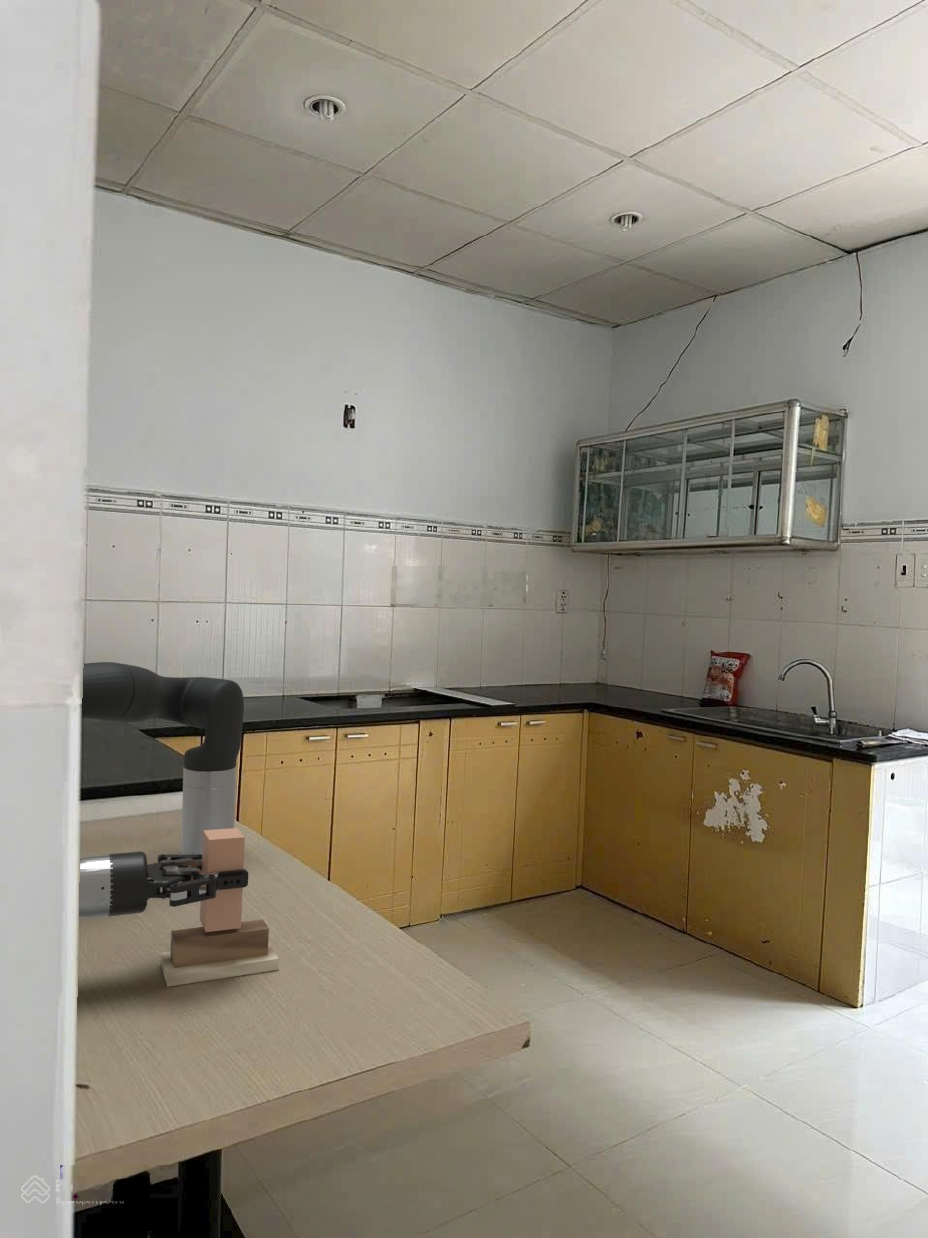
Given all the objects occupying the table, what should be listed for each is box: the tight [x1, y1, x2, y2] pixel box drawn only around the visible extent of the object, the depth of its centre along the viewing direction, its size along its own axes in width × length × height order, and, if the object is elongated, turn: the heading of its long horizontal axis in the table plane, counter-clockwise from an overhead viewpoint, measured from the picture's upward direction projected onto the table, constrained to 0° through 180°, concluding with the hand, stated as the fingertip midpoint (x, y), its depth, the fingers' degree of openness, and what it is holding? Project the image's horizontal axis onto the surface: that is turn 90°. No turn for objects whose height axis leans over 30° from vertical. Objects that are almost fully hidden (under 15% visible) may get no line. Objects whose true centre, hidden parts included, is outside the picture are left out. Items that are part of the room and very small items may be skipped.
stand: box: [160, 918, 280, 987], centre depth 117 cm, size 7×14×5 cm, turn 116°
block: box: [199, 827, 246, 932], centre depth 116 cm, size 4×4×12 cm
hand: (243, 872), depth 117 cm, fingers closed on block, 4 cm apart
